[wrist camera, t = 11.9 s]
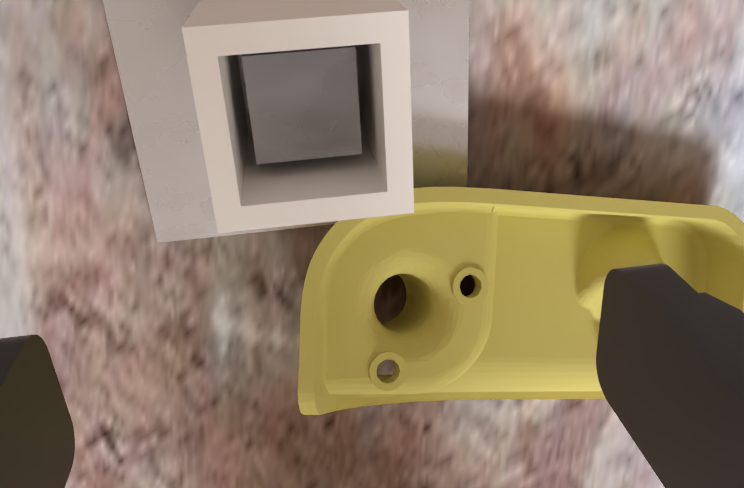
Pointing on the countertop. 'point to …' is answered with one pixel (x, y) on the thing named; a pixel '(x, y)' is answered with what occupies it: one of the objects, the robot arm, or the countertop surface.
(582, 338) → the plastic component
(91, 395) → the countertop surface
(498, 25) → the countertop surface
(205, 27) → the square tube sleeve
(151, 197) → the duct stub
